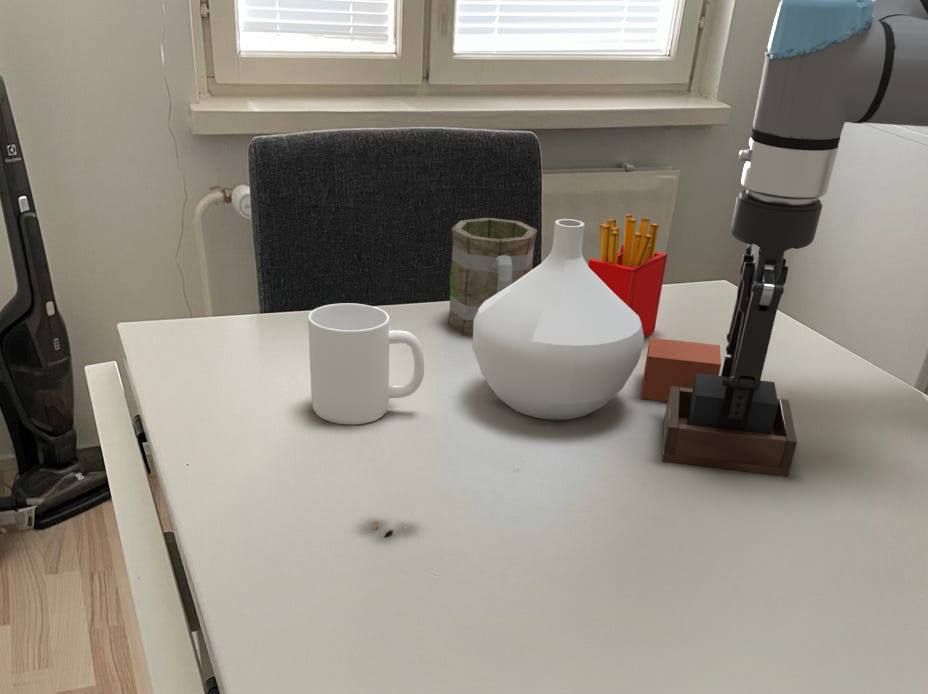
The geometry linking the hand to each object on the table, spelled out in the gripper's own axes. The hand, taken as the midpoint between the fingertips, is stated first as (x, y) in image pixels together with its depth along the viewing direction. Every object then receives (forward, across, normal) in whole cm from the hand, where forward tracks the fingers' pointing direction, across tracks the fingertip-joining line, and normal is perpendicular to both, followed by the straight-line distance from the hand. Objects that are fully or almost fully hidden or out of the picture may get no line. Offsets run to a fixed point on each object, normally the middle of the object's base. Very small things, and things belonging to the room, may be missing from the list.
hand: (726, 431), depth 103 cm
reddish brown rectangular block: (+2, -13, -5) cm, 14 cm away
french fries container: (+2, -29, -13) cm, 32 cm away
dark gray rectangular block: (0, 0, 0) cm, 0 cm away
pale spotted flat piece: (+2, +26, -30) cm, 40 cm away
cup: (+2, +2, -38) cm, 38 cm away
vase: (+2, -6, -19) cm, 20 cm away
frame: (+2, 0, 0) cm, 2 cm away
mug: (+2, -26, -29) cm, 39 cm away
